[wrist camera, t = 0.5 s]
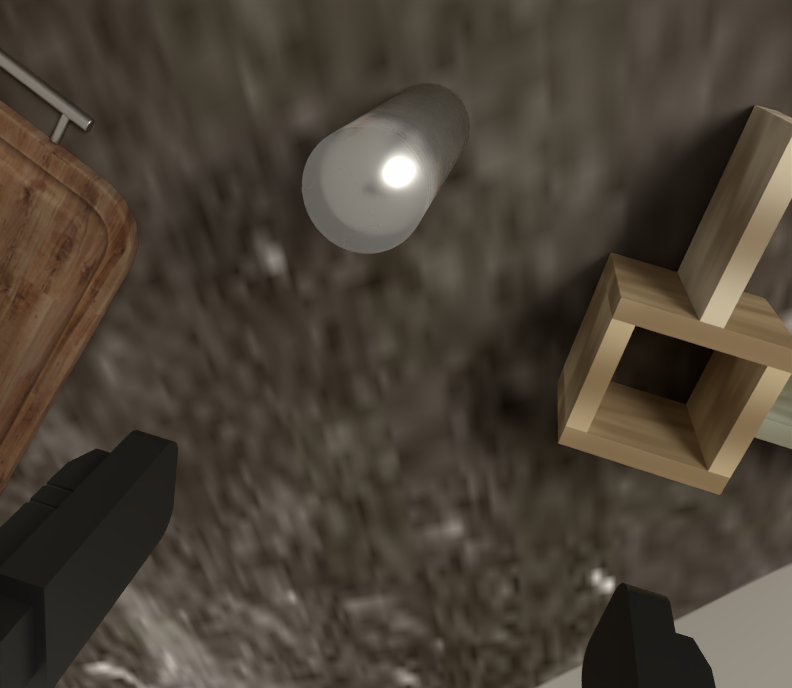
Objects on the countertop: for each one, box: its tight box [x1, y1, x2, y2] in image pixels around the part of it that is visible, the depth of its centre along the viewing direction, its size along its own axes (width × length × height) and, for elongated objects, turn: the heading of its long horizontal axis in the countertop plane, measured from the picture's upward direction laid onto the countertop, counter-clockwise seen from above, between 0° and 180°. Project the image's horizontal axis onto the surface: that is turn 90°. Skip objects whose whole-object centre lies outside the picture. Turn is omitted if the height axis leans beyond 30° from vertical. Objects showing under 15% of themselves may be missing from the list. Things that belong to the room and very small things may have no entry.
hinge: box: [557, 105, 792, 495], centre depth 31 cm, size 16×16×6 cm
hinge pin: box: [302, 83, 470, 253], centre depth 28 cm, size 4×4×13 cm
